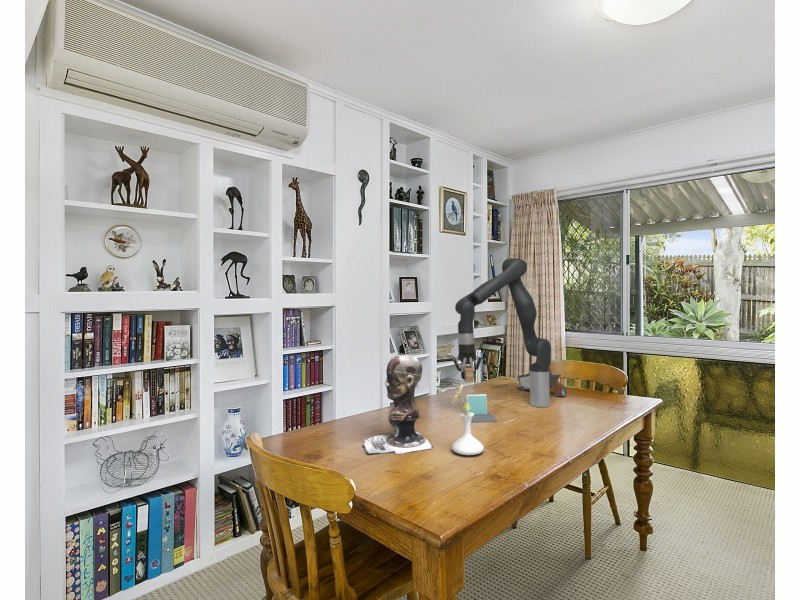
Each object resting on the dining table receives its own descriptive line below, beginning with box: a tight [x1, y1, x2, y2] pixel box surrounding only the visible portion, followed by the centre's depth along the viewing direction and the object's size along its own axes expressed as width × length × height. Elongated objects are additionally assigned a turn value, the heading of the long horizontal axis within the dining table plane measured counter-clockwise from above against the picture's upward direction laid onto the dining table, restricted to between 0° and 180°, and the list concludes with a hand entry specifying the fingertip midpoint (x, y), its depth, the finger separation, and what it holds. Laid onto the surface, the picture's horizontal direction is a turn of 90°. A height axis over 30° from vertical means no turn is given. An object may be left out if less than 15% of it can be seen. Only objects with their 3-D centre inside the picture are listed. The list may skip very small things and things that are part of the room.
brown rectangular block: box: [464, 364, 475, 384], centre depth 209 cm, size 10×4×6 cm, turn 1°
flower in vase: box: [451, 384, 485, 456], centre depth 160 cm, size 13×11×25 cm
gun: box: [516, 368, 568, 398], centre depth 247 cm, size 5×27×15 cm, turn 39°
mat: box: [471, 411, 498, 424], centre depth 203 cm, size 14×14×1 cm
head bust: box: [362, 354, 434, 456], centre depth 171 cm, size 22×25×35 cm
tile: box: [466, 393, 488, 415], centre depth 207 cm, size 2×9×9 cm, turn 90°
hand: (468, 379), depth 209 cm, fingers closed on brown rectangular block, 3 cm apart
